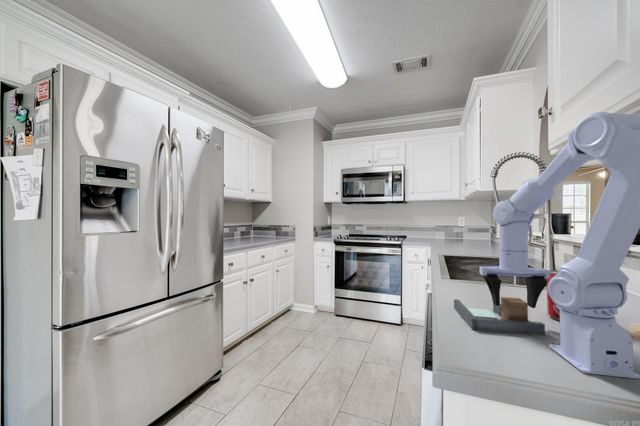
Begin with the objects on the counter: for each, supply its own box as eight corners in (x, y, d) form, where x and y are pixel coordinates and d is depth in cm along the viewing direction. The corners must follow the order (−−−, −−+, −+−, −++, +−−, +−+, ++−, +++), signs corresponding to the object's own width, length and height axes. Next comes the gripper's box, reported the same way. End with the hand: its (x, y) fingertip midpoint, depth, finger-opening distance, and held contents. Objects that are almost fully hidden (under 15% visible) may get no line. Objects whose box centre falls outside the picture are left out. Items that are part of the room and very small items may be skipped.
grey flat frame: (544, 335, 59) (544, 324, 59) (471, 329, 62) (471, 318, 62) (511, 311, 74) (511, 302, 74) (454, 307, 77) (453, 299, 77)
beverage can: (586, 324, 65) (585, 275, 65) (557, 322, 66) (556, 274, 66) (568, 315, 71) (567, 270, 71) (541, 313, 72) (541, 269, 73)
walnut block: (527, 328, 63) (527, 303, 63) (508, 327, 64) (508, 302, 64) (519, 322, 67) (518, 298, 67) (501, 320, 68) (501, 297, 68)
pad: (497, 318, 69) (497, 317, 69) (471, 316, 70) (471, 315, 70) (488, 310, 75) (488, 309, 75) (464, 309, 76) (464, 308, 76)
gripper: (537, 249, 68) (538, 302, 68) (475, 247, 71) (475, 298, 71) (555, 253, 61) (556, 312, 61) (485, 251, 64) (485, 307, 64)
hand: (513, 305), depth 65 cm, fingers open, 7 cm apart
